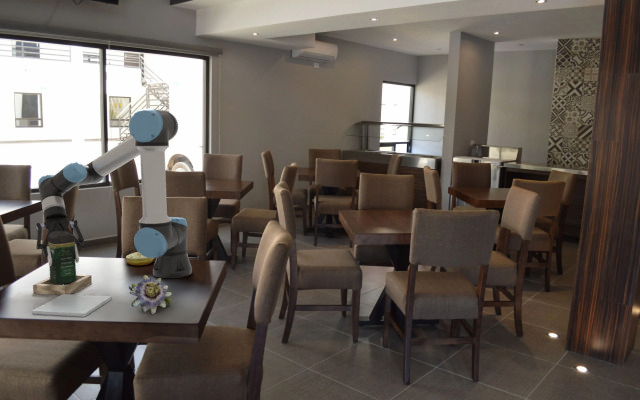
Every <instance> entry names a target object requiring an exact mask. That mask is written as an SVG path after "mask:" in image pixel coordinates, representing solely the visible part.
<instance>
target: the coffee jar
mask: <svg viewBox="0 0 640 400" xmlns="http://www.w3.org/2000/svg"><path fill="white" fill-rule="evenodd" d="M74 236H75V235H74V233H72V234H70V233H67V232H64V231H55V232H52V233H50V234H49V235H48V246H49V247H50V253H51V259H52V265H51V266H49V277H50V281H51V283H53V284H55V285H69V284H71V283H73V282H75V281H76V274H77V269H76V268H77V267H76V265H77V264H76V260H75V239H74Z"/></svg>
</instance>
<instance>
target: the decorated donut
mask: <svg viewBox="0 0 640 400" xmlns="http://www.w3.org/2000/svg"><path fill="white" fill-rule="evenodd" d="M125 258H126V259H125V260H126V263H127V264H128V265H132V266H145V265H149V264H151V263H152V262H153V260H154V258H148V257H145V256H143V255H141V254H140V253H139V252H138V251H136V252H131V253H129V254H127V255H126V257H125Z"/></svg>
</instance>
